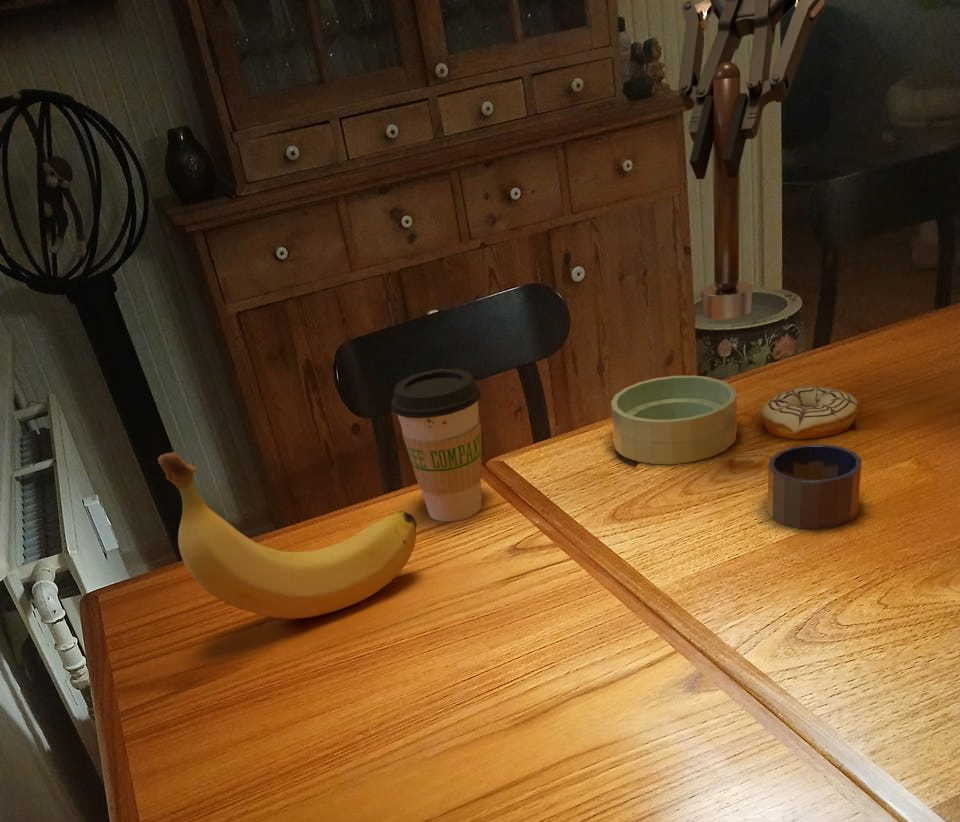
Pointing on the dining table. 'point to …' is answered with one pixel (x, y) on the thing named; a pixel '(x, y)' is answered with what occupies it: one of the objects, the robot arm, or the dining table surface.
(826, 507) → the crock
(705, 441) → the bowl
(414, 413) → the coffee cup
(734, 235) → the wooden pestle
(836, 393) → the decorated donut
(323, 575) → the banana
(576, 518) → the dining table surface
